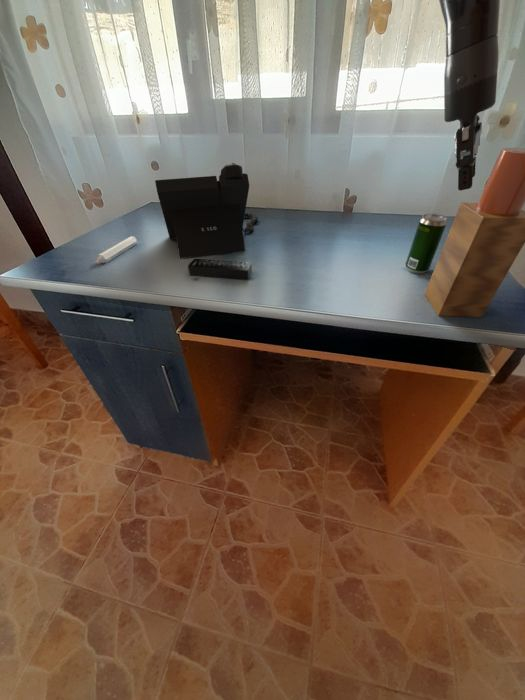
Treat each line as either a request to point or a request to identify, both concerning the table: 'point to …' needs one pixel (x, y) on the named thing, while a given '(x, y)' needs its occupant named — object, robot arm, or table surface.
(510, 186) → the cup
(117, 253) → the white pencil
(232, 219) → the office phone
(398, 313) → the table surface
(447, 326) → the table surface
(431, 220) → the beer can
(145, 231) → the table surface
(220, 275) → the multiport hub
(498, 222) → the stand
